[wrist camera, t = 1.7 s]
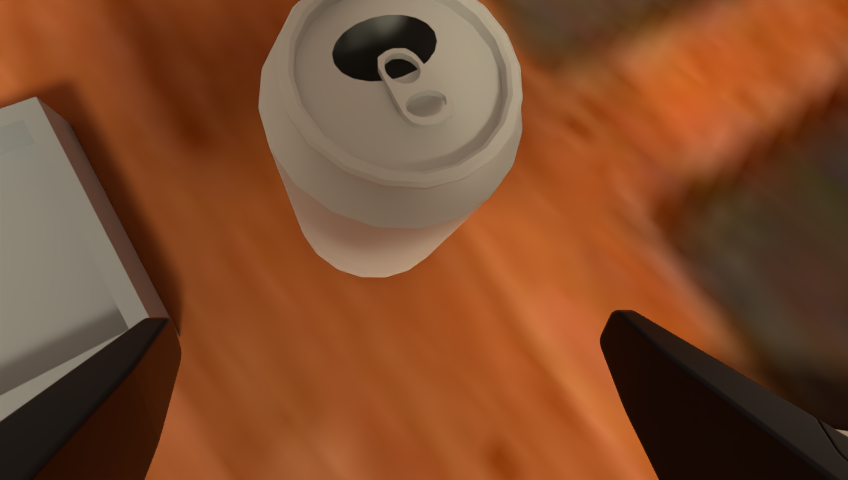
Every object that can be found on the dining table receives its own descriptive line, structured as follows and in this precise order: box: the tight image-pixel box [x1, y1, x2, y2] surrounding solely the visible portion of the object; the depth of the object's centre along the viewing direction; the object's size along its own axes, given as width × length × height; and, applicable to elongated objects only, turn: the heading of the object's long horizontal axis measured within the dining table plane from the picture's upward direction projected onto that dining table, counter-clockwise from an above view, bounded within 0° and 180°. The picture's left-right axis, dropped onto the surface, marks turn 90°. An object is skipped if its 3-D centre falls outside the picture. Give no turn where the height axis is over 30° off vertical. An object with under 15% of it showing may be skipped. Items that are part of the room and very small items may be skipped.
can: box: [258, 0, 523, 277], centre depth 16 cm, size 8×8×12 cm
